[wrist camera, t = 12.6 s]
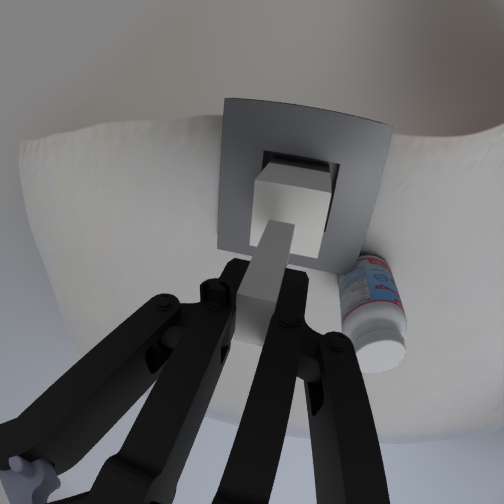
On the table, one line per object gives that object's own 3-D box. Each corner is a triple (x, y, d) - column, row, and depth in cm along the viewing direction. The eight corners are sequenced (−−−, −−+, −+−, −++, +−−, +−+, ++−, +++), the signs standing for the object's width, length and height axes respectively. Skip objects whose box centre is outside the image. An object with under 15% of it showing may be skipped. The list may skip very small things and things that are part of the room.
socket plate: (233, 97, 22) (224, 98, 20) (386, 124, 20) (392, 126, 18) (224, 237, 31) (217, 248, 29) (350, 263, 28) (351, 276, 27)
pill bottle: (399, 277, 28) (425, 356, 18) (357, 305, 31) (367, 385, 22) (370, 242, 26) (395, 322, 17) (326, 275, 29) (328, 358, 20)
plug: (274, 155, 24) (254, 179, 18) (329, 164, 23) (331, 193, 17) (269, 204, 27) (249, 245, 20) (320, 214, 26) (317, 258, 20)
